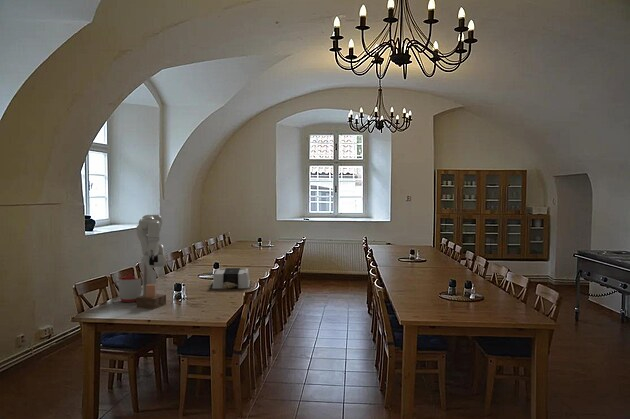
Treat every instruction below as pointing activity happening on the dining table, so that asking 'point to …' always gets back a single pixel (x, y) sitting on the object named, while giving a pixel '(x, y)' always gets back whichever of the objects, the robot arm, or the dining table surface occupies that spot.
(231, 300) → the dining table surface
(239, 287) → the grey black bridge block
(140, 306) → the walnut block
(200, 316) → the dining table surface
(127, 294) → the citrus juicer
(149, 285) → the terracotta block
